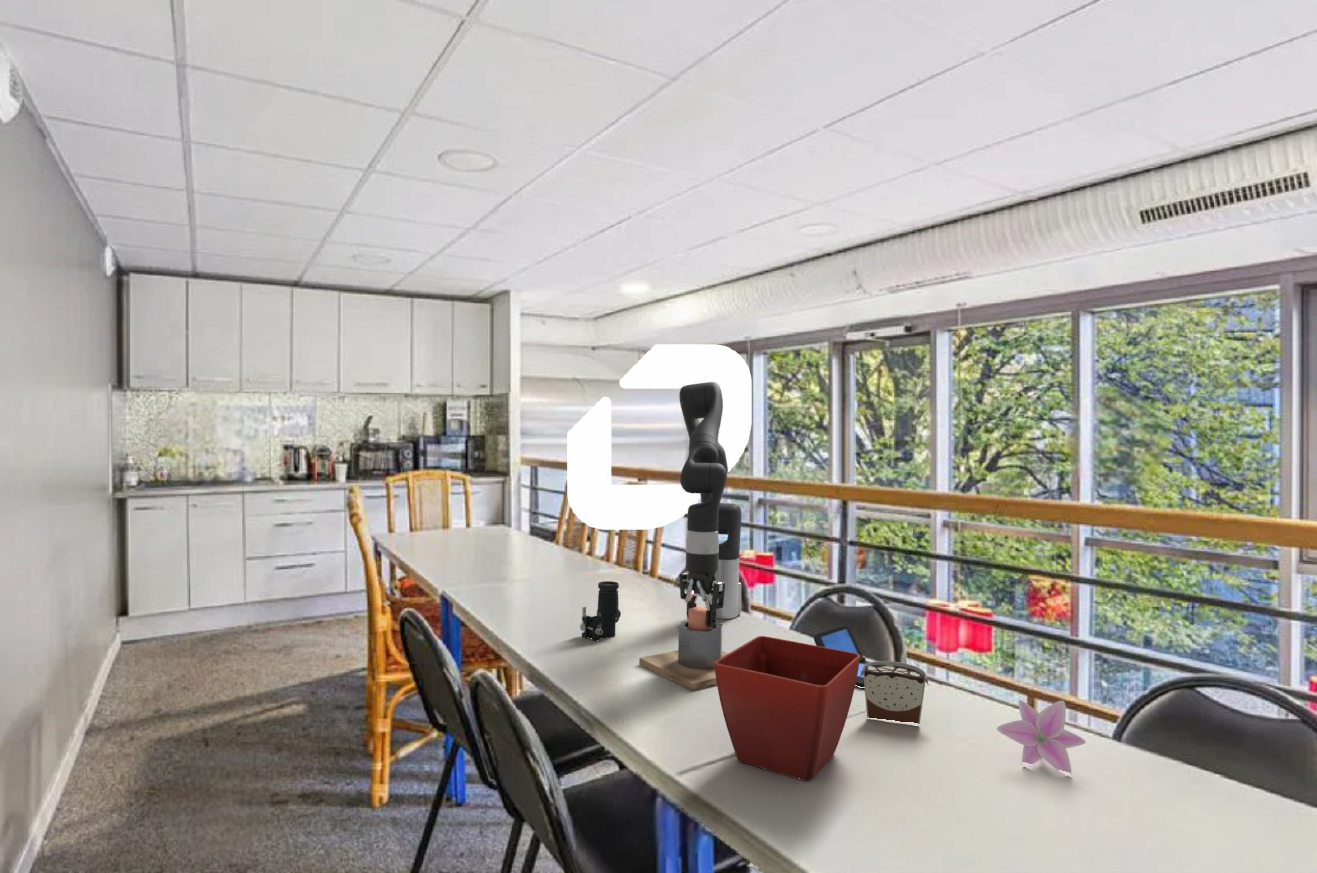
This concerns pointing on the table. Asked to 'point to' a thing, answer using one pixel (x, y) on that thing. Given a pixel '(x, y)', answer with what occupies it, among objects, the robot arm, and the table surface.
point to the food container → (894, 690)
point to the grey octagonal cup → (699, 646)
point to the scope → (602, 613)
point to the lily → (1043, 735)
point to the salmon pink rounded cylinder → (697, 618)
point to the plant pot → (786, 703)
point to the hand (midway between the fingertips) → (700, 622)
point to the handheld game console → (842, 645)
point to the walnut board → (679, 670)
